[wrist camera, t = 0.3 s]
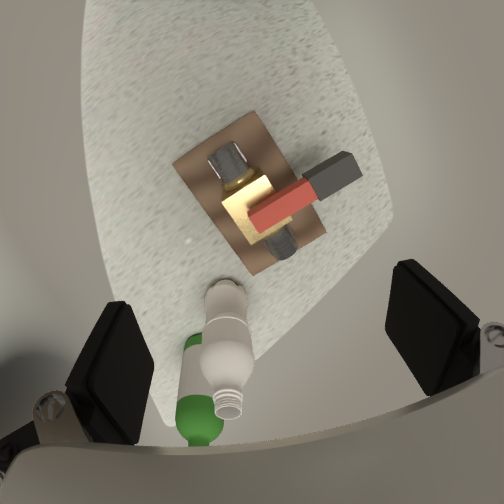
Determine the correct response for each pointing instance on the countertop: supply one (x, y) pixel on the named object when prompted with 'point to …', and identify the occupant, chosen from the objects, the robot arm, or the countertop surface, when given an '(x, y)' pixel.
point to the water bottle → (226, 347)
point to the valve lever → (306, 190)
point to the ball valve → (250, 199)
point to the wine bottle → (196, 400)
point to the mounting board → (257, 155)
